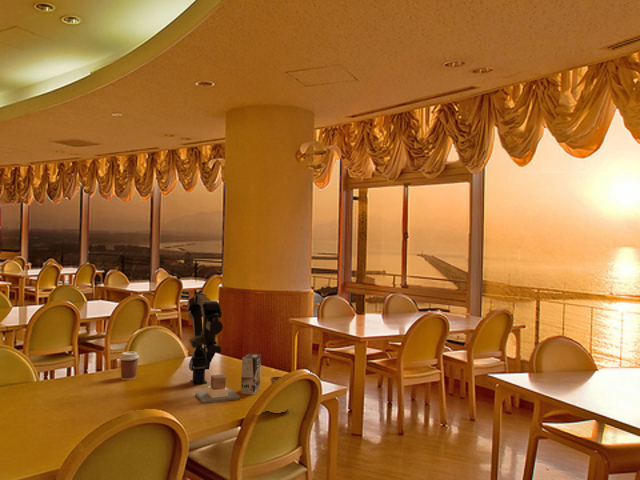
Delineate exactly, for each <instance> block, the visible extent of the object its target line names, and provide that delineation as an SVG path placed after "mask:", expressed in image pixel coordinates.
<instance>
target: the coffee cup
mask: <svg viewBox="0 0 640 480" xmlns="http://www.w3.org/2000/svg"><path fill="white" fill-rule="evenodd" d="M139 358H140V355H139V354H138V352H137V351H123V352H121V355H120V356H118V359H119V360H120V375H121V377H120V378H121V380H123V381H130V380H131V381H132V380H135V379H136V376H137V370H138V368H137V367H138V363H139V362H138V361H139Z"/></svg>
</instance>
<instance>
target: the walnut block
mask: <svg viewBox="0 0 640 480" xmlns="http://www.w3.org/2000/svg"><path fill="white" fill-rule="evenodd" d="M226 381H227V379H226V376H225V375H224V374H223V373H221V374H211V375H210V386H211V388H212V389H213V390H218V389H225V387H226Z"/></svg>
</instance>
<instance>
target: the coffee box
mask: <svg viewBox="0 0 640 480" xmlns="http://www.w3.org/2000/svg"><path fill="white" fill-rule="evenodd" d="M261 369H262V354H260V353H248V354H246V355H244V356H242V358H241V375H240V376H241V379H240V394H244V395H253V396H254V395H255V394H257V392H259V391H260V390H261V373H262V372H261ZM258 390H259V391H258Z"/></svg>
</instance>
